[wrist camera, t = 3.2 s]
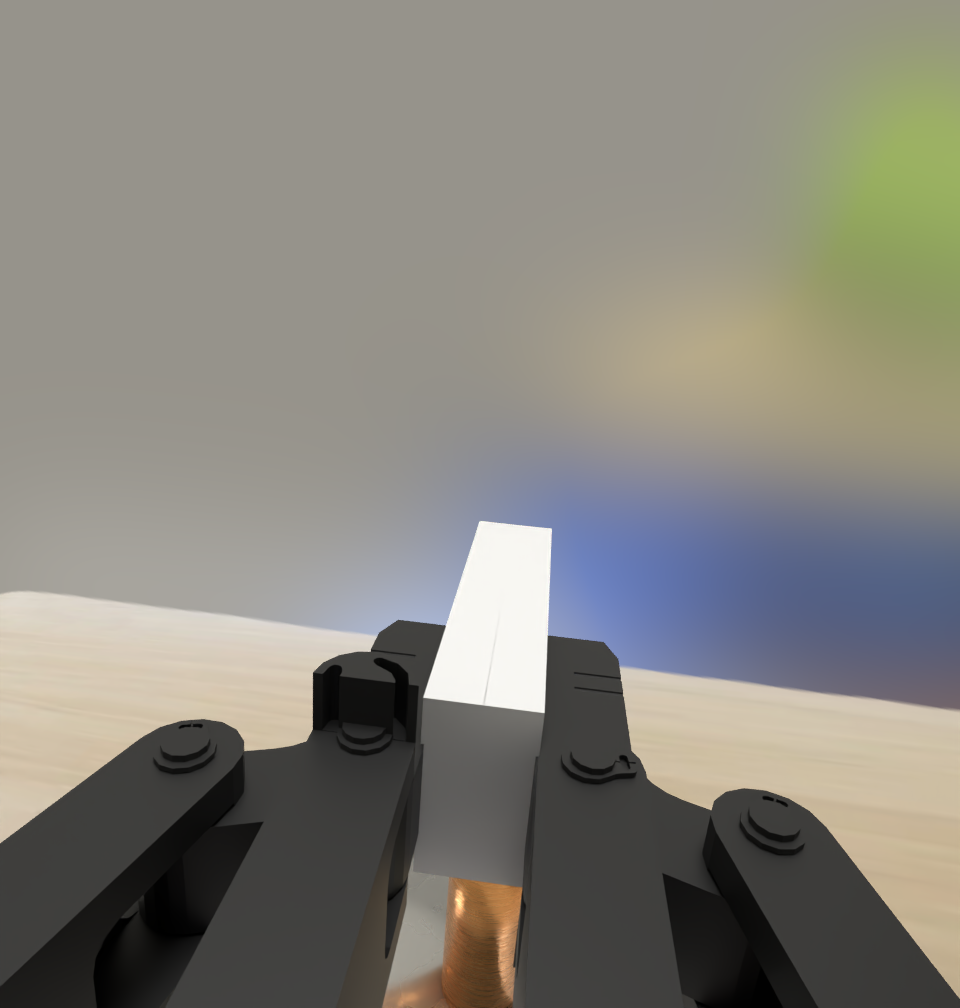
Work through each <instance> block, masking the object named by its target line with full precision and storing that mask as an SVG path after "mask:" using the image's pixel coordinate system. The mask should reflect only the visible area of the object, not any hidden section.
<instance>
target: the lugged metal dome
mask: <svg viewBox="0 0 960 1008" xmlns="http://www.w3.org/2000/svg"><path fill="white" fill-rule="evenodd" d="M413 862H414V854H413V858H412V862H411V866H410V870H409V874H408V887H407V905H406V909H405V914H404V918H403V922H402V926H401V930H400V935H399V939H398V943H397V947H396V951H395V955H394V960H393V964H392V968H391V972H390V976H389V981H388V985H387V989H386V993H385V997H384V1001H383V1006H382V1008H512V1007H513V992H514V978H515V967H513V962H514V954H515V946H516V937H517V929H518V921H519V912H520V904H521V896H522V887H515V886H508V885H501V884H494V883H488V882H481V881H474V880H467V879H460V878H453V877H446V876H440V875H433V874H426V873H419V872H413Z"/></svg>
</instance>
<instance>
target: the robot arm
mask: <svg viewBox="0 0 960 1008" xmlns="http://www.w3.org/2000/svg"><path fill="white" fill-rule="evenodd" d="M551 533H552V529H548V528H538V527H529V526H520V525H511V524H502V523H493V522H483V521H480V522H479V525H478V528H477V531H476V534H475V538H474V541H473V544H472V547H471V550H470V553H469V557H468V559H467V563H466V566H465V569H464V572H463V575H462V578H461V581H460V584H459V587H458V591H457V594H456V597H455V600H454V603H453V606H452V609H451V612H450V616H449V619H448V622H447V625H446V626H445V625H436V624H427V623H420V622H410V621H403V620H398V621H396V622H394V623H393V624H391V625H390V626H389V627H387V628H386V629H384V630H383V631H381V632H380V633H379V634H378V636H377V638H376V640H375V642H374V644H373V646H372V648H371V652H354V653H349V654H344V655H339V656H337V657H335V658H332V659H330V660H328V661H326V662H323V663H322V664H321V665H320V666H319V667H318V668H317V669H316V670H315V671H314V672H313V730H312V732H311V734H310V736H309V738H308V740H307V742H303V743H300V744H297V745H294V746H289V747H283V748H277V749H266V750H254V751H244V740H243V739H242V737H241V736H240V734H239V733H238V731H237V730H236V729H234V728H232V727H230V726H228V725H227V724H225V723H223V722H217V721H211V720H205V719H200V720H188V721H180V722H176V723H173V724H170V725H166V726H163V727H160V728H158V729H156V730H154V731H153V732H151V733H149V734H147V735H145V736H144V737H142V738H140V739H139V740H138V741H136V742H135V743H134V744H132V745H131V746H130V747H128V748H127V749H126V750H124V751H123V752H122V753H120V754H119V755H118V756H116V757H115V758H114V759H112V760H111V761H110V762H108V763H107V764H106V765H104V766H103V767H102V768H100V769H99V770H98V771H96V772H95V773H94V774H92V775H91V776H90V777H88V778H87V779H86V780H84V781H83V782H82V783H80V784H79V785H78V786H76V787H75V788H74V789H72V790H71V791H70V792H68V793H67V794H66V795H64V796H63V797H62V798H60V799H59V800H58V801H56V802H55V803H54V804H52V805H51V806H50V807H48V808H47V809H46V810H44V811H43V812H42V813H40V814H39V815H38V816H36V817H35V818H34V819H32V820H31V821H30V822H28V823H27V824H26V825H24V826H23V827H22V828H20V829H19V830H18V831H16V832H15V833H14V834H12V835H11V836H10V837H8V838H7V839H6V840H4V841H3V842H2V843H0V1008H382V1006H383V1001H384V997H385V993H386V989H387V985H388V981H389V976H390V972H391V968H392V964H393V960H394V955H395V951H396V947H397V943H398V939H399V935H400V930H401V926H402V922H403V918H404V914H405V909H406V905H407V887H408V874H409V870H410V866H411V862H412V858H413V854H414V862H413V872H419V873H426V874H433V875H440V876H446V877H453V878H460V879H467V880H474V881H481V882H488V883H494V884H501V885H508V886H515V887H522V896H521V904H520V912H519V921H518V929H517V937H516V946H515V954H514V962H513V967H515V978H514V992H513V1007H512V1008H960V999H959V998H958V996H957V995H956V994H955V993H954V991H953V990H952V989H951V987H950V986H949V985H948V984H947V982H946V981H945V980H944V978H943V977H942V976H941V974H940V973H939V972H938V971H937V969H936V968H935V967H934V965H933V964H932V963H931V962H930V960H929V959H928V958H927V956H926V955H925V954H924V953H923V951H922V950H921V949H920V947H919V946H918V945H917V944H916V942H915V941H914V940H913V938H912V937H911V936H910V935H909V933H908V932H907V931H906V929H905V928H904V927H903V926H902V924H901V923H900V922H899V920H898V919H897V918H896V917H895V915H894V914H893V913H892V911H891V910H890V909H889V908H888V906H887V905H886V904H885V902H884V901H883V900H882V899H881V897H880V896H879V895H878V893H877V892H876V891H875V889H874V888H873V887H872V886H871V884H870V883H869V882H868V880H867V879H866V878H865V877H864V875H863V874H862V873H861V871H860V870H859V869H858V868H857V866H856V865H855V864H854V862H853V861H852V860H851V859H850V857H849V856H848V855H847V853H846V852H845V851H844V850H843V848H842V847H841V846H840V844H839V843H838V842H837V841H836V839H835V838H834V837H833V835H832V834H831V833H830V832H829V830H828V829H827V828H826V827H825V826H824V825H823V824H822V823H821V822H820V821H819V820H818V819H817V818H816V817H815V816H814V815H813V814H812V813H811V812H810V811H808V810H807V809H805V808H803V807H802V806H800V805H798V804H797V803H795V802H793V801H792V800H790V799H788V798H785V797H782V796H780V795H777V794H774V793H771V792H768V791H764V790H754V789H745V788H743V789H738V790H733V791H728V792H725V793H724V794H723V795H721V796H720V797H719V798H717V799H716V800H715V801H714V804H713V807H712V811H711V810H708V809H706V808H703V807H700V806H697V805H695V804H692V803H689V802H686V801H684V800H681V799H679V798H677V797H675V796H672V795H670V794H668V793H666V792H665V791H663V790H662V789H660V788H658V787H657V786H655V785H654V784H653V783H651V782H650V781H649V780H648V779H647V776H646V772H645V770H644V767H643V765H642V763H641V761H640V759H639V758H638V757H637V756H636V755H635V754H634V753H633V752H632V751H631V745H630V738H629V731H628V724H627V717H626V710H625V703H624V697H623V689H622V682H621V675H620V668H619V661H618V659H617V657H616V656H615V655H614V654H613V653H612V652H611V650H610V649H609V648H608V647H607V646H606V645H605V643H604V642H597V641H589V640H581V639H572V638H564V637H556V636H548V611H549V585H550V559H551Z"/></svg>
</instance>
